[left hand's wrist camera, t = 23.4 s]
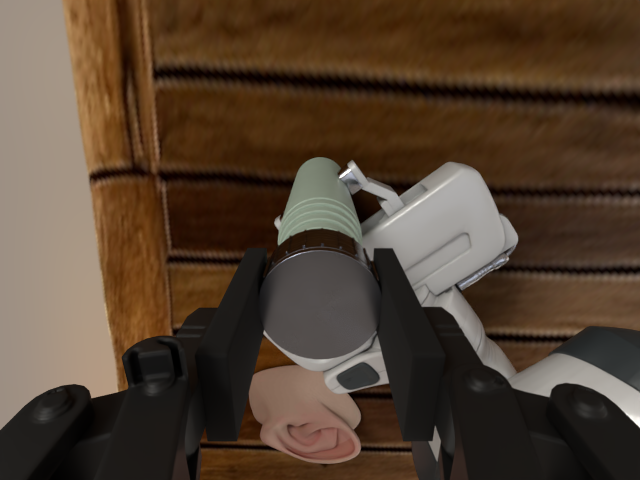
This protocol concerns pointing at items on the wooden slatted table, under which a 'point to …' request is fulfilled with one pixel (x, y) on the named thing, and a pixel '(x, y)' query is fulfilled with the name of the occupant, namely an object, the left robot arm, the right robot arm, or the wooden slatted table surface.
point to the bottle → (319, 202)
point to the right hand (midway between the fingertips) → (312, 191)
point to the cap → (320, 295)
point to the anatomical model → (304, 415)
